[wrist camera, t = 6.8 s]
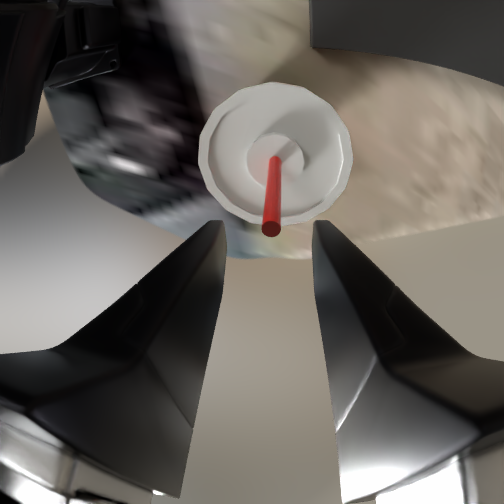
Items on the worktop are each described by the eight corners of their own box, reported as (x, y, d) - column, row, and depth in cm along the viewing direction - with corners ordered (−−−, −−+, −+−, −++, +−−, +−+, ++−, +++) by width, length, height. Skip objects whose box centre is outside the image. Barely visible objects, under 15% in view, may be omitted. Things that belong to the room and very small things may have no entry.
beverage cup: (235, 159, 21) (178, 311, 10) (226, 73, 17) (128, 119, 6) (324, 158, 20) (371, 312, 9) (323, 70, 17) (406, 108, 5)
